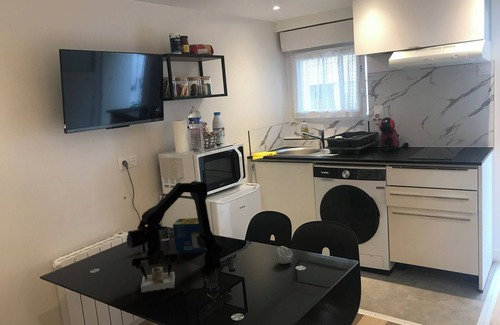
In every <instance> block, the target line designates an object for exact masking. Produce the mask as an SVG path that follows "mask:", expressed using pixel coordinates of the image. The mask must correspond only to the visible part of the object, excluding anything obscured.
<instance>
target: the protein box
mask: <svg viewBox="0 0 500 325" xmlns="http://www.w3.org/2000/svg"><path fill="white" fill-rule="evenodd" d="M172 230H173V231H172V232H173V237H174V238H173V240H174V248H175V249H174V250H177V251H178V255H179V254H182V255H183V254H205V251H203V250H202V248H200V247H199V245H197V238H196V236H199V234H200V228H199V223H198V217H190V218H186V217H185V218H178V219H177V220H176V221H175V222H174V223H173V224H172Z"/></svg>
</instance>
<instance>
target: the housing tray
mask: <svg viewBox="0 0 500 325" xmlns="http://www.w3.org/2000/svg"><path fill="white" fill-rule="evenodd" d="M163 277H164V283H158V284H153V280H152V274H147V279H146V278H145V276H144V275H143V276H142V280H141V284H140V290H141V292H140V293H146V292H147V291H148V292H153V291H154V290H155V291H161V289H162V290H167V289H166V288H169V289H175V285H176V284H175V282H176V280H175V279H176V275H175V271H170V276H168V272H163ZM148 292H147V293H148Z"/></svg>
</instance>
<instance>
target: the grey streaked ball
mask: <svg viewBox="0 0 500 325" xmlns="http://www.w3.org/2000/svg"><path fill="white" fill-rule="evenodd" d="M293 255H294V254H293V252H292V250H291V249H290V248H288V247H286V246H282V245H280V246H279V247H277V248H276V249H275V252H274V257H275V259H276V261H277V262H278V264H282V265H287V264H290V263H291V261H292V260H293Z"/></svg>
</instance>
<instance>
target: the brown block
mask: <svg viewBox="0 0 500 325" xmlns="http://www.w3.org/2000/svg"><path fill="white" fill-rule="evenodd" d="M163 273H164V271H163V266H155V267H152V269H151V275H152V280H153V284H158V283H164V277H163Z"/></svg>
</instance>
